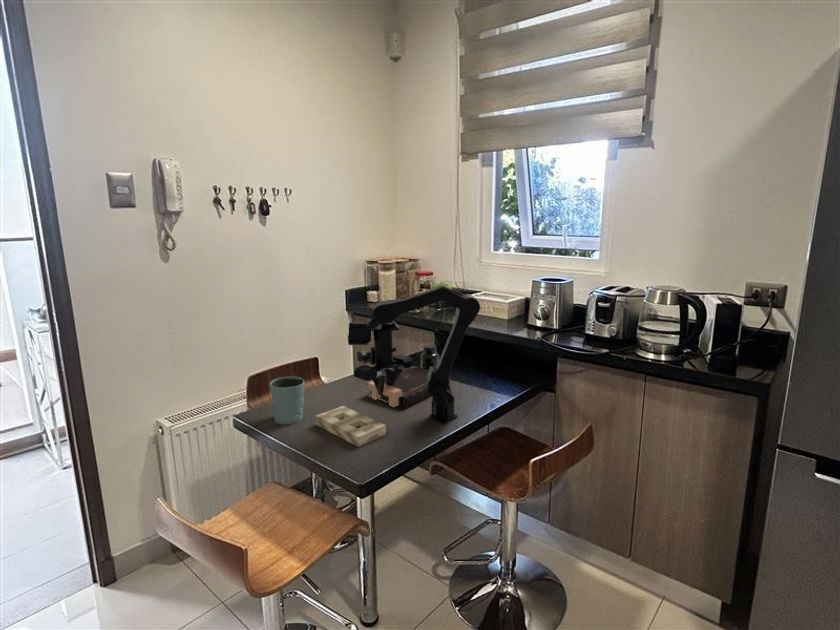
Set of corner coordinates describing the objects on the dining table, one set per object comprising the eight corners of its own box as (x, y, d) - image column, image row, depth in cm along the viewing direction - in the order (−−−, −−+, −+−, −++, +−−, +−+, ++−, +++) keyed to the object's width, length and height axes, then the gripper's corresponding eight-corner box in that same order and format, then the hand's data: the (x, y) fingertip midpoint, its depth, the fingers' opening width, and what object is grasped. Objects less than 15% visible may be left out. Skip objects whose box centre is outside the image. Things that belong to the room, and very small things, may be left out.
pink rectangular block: (402, 405, 147) (401, 389, 146) (394, 408, 145) (394, 392, 143) (375, 395, 155) (375, 380, 154) (368, 397, 153) (367, 382, 152)
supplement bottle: (441, 378, 185) (441, 347, 183) (424, 380, 183) (423, 349, 181) (435, 372, 192) (435, 343, 189) (418, 374, 190) (418, 344, 187)
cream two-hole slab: (386, 434, 141) (385, 425, 140) (358, 447, 134) (358, 436, 133) (343, 414, 154) (343, 405, 154) (316, 424, 147) (316, 415, 147)
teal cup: (266, 418, 152) (263, 382, 149) (294, 408, 159) (292, 373, 156) (284, 428, 145) (281, 390, 142) (313, 417, 152) (311, 381, 150)
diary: (450, 388, 177) (451, 375, 176) (406, 411, 158) (406, 396, 157) (410, 377, 189) (410, 364, 187) (364, 396, 169) (364, 383, 168)
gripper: (388, 333, 158) (389, 379, 161) (341, 345, 145) (343, 395, 148) (413, 340, 150) (413, 388, 154) (365, 353, 137) (367, 405, 140)
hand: (384, 393), depth 149 cm, fingers closed on pink rectangular block, 3 cm apart
